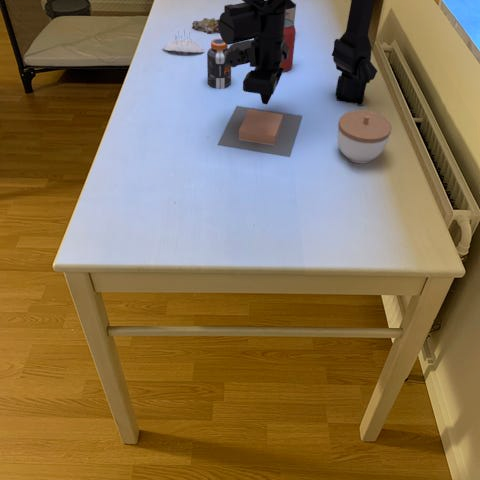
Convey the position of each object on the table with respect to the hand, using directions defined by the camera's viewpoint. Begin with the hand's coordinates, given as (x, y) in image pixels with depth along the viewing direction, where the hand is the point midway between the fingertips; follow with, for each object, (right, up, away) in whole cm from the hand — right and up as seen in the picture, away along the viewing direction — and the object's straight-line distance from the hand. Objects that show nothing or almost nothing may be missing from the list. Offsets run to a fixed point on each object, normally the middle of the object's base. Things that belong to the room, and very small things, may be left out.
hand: (265, 103), depth 112 cm
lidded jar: (+20, -12, -3) cm, 23 cm away
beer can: (+5, +16, +25) cm, 31 cm away
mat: (-1, -6, +3) cm, 6 cm away
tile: (0, -2, +4) cm, 5 cm away
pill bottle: (-11, +9, +18) cm, 23 cm away
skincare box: (+7, +30, +39) cm, 50 cm away
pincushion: (-21, +23, +31) cm, 44 cm away
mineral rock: (-15, +34, +42) cm, 56 cm away
